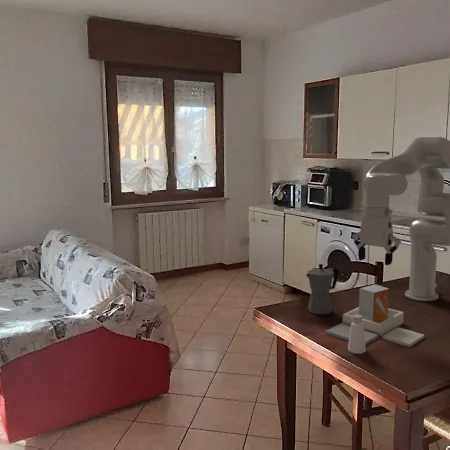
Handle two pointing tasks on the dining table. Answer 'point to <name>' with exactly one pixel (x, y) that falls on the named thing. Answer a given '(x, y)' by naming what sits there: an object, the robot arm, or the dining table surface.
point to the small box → (374, 303)
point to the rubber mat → (403, 337)
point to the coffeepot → (321, 289)
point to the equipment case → (367, 325)
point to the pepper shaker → (357, 336)
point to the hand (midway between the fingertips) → (374, 262)
